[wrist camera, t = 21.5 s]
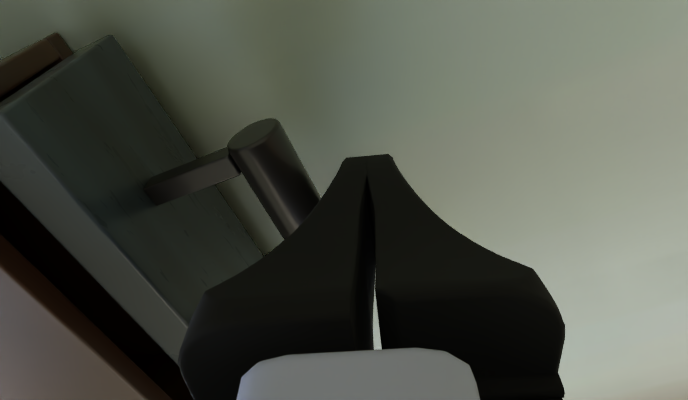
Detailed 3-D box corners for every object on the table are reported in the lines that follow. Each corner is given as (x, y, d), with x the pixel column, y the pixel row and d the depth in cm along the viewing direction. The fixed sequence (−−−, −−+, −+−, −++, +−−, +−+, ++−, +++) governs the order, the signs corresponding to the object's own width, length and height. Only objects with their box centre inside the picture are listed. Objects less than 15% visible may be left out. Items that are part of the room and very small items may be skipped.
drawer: (237, -29, 12) (175, 28, 8) (398, 290, 18) (411, 416, 14) (-207, 188, 16) (-400, 300, 12) (46, 390, 23) (-26, 510, 18)
